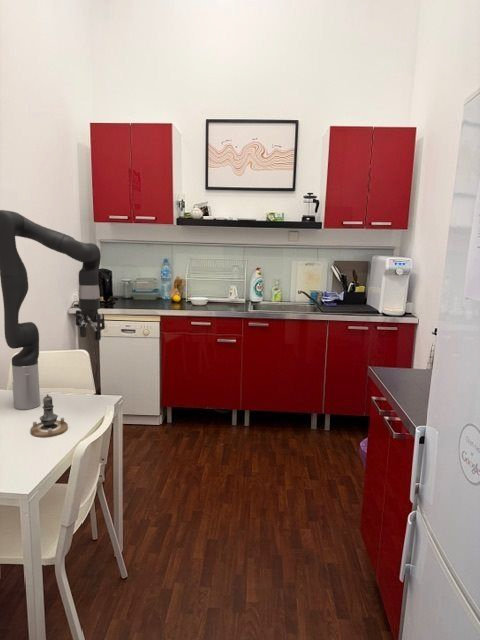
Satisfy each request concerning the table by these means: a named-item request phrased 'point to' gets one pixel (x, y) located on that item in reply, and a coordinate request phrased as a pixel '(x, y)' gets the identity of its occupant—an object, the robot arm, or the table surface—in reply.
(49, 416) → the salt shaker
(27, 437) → the table surface
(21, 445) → the table surface
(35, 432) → the pin holder
